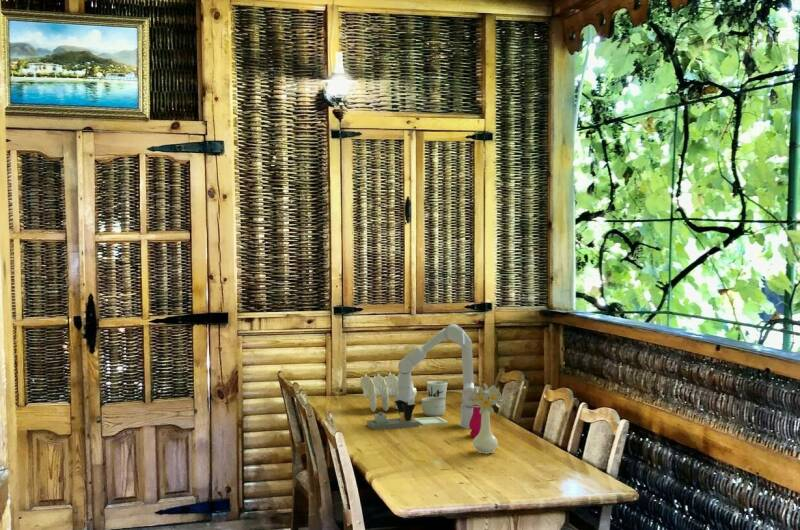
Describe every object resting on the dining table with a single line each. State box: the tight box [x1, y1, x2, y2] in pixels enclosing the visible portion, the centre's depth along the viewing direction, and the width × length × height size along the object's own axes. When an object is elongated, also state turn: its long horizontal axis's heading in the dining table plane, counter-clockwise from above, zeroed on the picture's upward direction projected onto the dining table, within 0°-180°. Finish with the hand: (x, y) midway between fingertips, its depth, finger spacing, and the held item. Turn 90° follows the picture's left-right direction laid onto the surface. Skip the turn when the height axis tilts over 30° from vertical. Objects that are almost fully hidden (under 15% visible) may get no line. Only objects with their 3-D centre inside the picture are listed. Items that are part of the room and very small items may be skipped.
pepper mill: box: [469, 386, 482, 438], centre depth 345 cm, size 7×7×20 cm
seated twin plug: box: [374, 411, 388, 424], centre depth 361 cm, size 4×4×6 cm
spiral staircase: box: [359, 372, 418, 413], centre depth 398 cm, size 18×18×25 cm
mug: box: [425, 380, 449, 399], centre depth 420 cm, size 10×15×10 cm
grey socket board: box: [366, 417, 420, 431], centre depth 363 cm, size 10×20×2 cm, turn 109°
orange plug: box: [399, 412, 413, 422], centre depth 365 cm, size 4×4×6 cm
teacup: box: [421, 396, 446, 417], centre depth 388 cm, size 14×11×8 cm
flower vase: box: [469, 382, 505, 455], centre depth 318 cm, size 13×18×25 cm
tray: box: [413, 416, 449, 427], centre depth 371 cm, size 12×12×1 cm
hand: (405, 418), depth 365 cm, fingers open, 7 cm apart
